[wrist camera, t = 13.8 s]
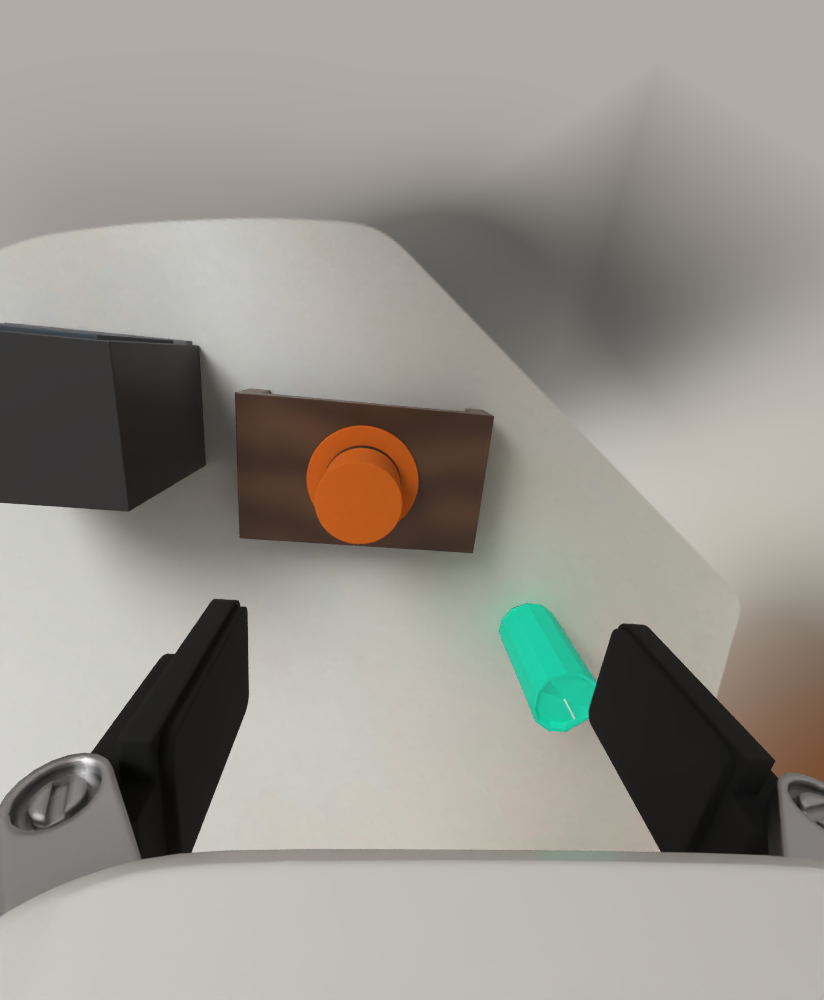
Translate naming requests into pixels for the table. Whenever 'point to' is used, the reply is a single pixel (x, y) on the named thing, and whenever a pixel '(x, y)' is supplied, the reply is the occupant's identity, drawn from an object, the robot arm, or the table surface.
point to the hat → (361, 483)
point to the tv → (96, 417)
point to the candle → (547, 668)
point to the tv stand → (308, 421)
